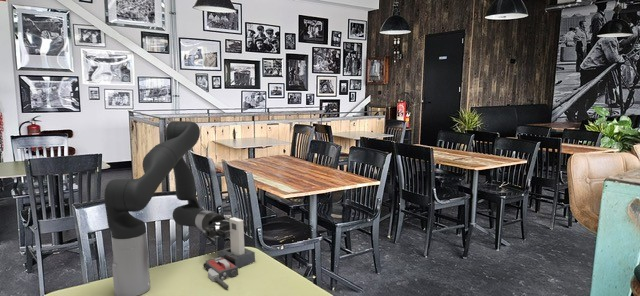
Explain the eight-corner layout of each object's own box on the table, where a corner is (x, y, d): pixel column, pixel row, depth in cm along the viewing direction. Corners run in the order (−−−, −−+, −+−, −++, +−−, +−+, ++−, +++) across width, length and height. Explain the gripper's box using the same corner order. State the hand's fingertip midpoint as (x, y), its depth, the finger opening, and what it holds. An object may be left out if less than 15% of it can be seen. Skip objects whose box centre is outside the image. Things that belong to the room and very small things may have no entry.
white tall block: (231, 261, 148) (229, 218, 146) (236, 259, 150) (234, 217, 147) (239, 265, 145) (238, 221, 142) (245, 263, 146) (243, 220, 144)
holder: (218, 261, 148) (217, 251, 148) (237, 254, 154) (237, 244, 154) (235, 269, 142) (234, 259, 141) (255, 261, 147) (254, 252, 147)
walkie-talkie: (197, 270, 142) (224, 292, 127) (196, 257, 142) (223, 278, 126) (222, 263, 148) (251, 283, 132) (221, 250, 147) (250, 270, 131)
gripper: (191, 216, 151) (217, 226, 140) (226, 208, 161) (253, 216, 150) (193, 237, 152) (218, 249, 141) (227, 227, 162) (254, 237, 151)
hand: (236, 232), depth 146 cm, fingers open, 8 cm apart
